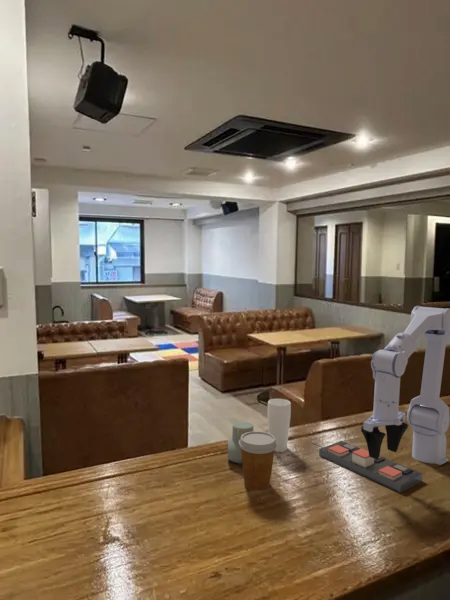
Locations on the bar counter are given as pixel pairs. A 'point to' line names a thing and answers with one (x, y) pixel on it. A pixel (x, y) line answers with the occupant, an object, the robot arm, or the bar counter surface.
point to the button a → (338, 450)
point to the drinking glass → (279, 422)
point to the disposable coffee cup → (257, 458)
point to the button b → (362, 458)
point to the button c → (390, 473)
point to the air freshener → (237, 440)
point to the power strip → (374, 468)
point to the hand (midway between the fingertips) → (383, 454)
